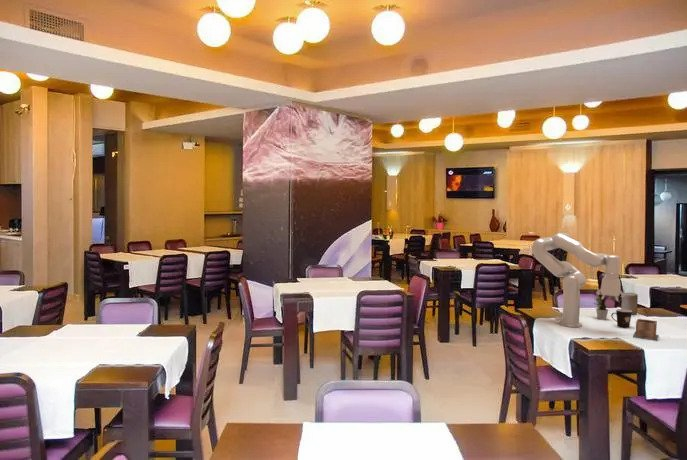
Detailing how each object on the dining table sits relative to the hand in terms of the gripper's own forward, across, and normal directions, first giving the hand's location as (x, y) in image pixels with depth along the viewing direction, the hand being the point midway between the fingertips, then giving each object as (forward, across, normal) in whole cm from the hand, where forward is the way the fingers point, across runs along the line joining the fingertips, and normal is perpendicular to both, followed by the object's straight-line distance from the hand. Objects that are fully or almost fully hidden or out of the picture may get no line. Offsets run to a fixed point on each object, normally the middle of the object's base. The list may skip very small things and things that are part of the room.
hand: (609, 306), depth 322 cm
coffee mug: (+15, +4, +19) cm, 25 cm away
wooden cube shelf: (+15, +19, 0) cm, 24 cm away
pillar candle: (+15, +4, +64) cm, 66 cm away
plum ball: (+1, 0, 0) cm, 1 cm away
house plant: (+15, -10, +35) cm, 39 cm away
